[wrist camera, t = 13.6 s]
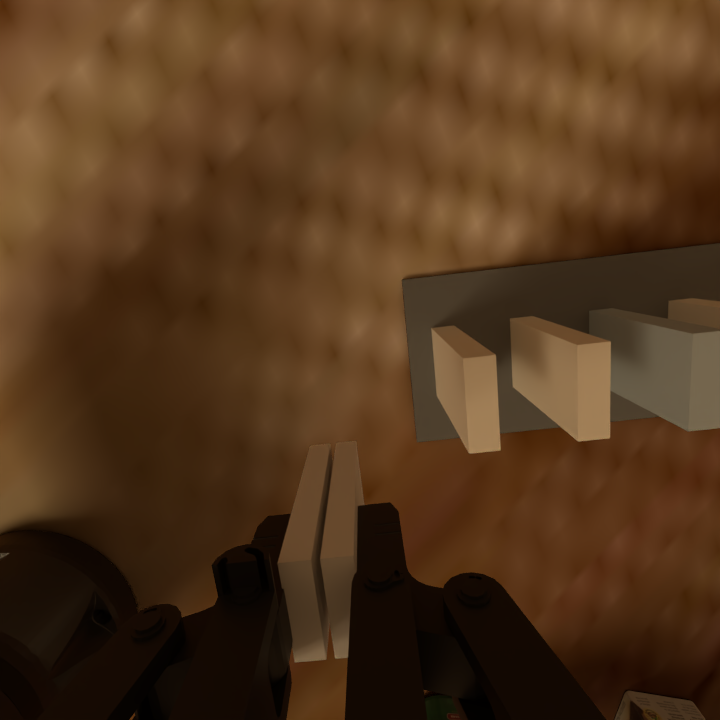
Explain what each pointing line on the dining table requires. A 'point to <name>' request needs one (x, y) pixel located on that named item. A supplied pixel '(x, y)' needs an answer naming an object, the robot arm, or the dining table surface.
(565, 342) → the domino
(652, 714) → the coffee box
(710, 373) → the domino
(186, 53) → the dining table surface
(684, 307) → the domino
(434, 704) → the coffee jar
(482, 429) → the domino
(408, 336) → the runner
